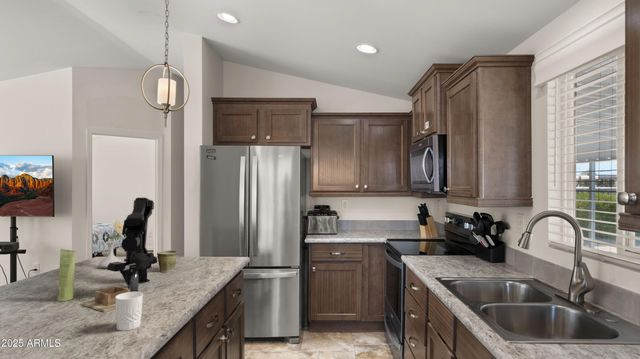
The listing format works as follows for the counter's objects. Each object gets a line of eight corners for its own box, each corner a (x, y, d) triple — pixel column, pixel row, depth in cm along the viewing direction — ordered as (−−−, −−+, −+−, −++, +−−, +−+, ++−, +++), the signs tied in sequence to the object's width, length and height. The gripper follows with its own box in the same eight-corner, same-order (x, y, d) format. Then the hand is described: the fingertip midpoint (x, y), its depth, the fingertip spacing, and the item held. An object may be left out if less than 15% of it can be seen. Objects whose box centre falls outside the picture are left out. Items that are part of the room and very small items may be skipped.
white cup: (121, 321, 113) (122, 291, 113) (146, 321, 114) (147, 291, 114) (109, 332, 105) (110, 299, 105) (135, 331, 106) (136, 299, 106)
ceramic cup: (172, 273, 175) (172, 254, 175) (152, 273, 175) (153, 253, 175) (182, 267, 188) (183, 249, 188) (164, 267, 188) (165, 249, 188)
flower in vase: (104, 270, 178) (105, 222, 179) (94, 267, 184) (95, 221, 185) (129, 266, 189) (130, 221, 190) (119, 263, 195) (120, 219, 196)
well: (82, 305, 128) (83, 292, 128) (119, 294, 140) (120, 283, 140) (104, 312, 121) (104, 298, 121) (141, 300, 133) (141, 288, 134)
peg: (125, 292, 143) (125, 271, 143) (134, 290, 147) (134, 269, 147) (131, 294, 141) (131, 272, 141) (140, 291, 145) (140, 270, 145)
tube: (76, 296, 137) (77, 248, 138) (73, 300, 133) (75, 250, 133) (59, 298, 135) (60, 248, 135) (55, 302, 130) (57, 251, 130)
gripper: (123, 252, 132) (122, 292, 132) (165, 245, 149) (164, 281, 148) (107, 249, 138) (106, 288, 137) (149, 242, 154) (148, 277, 154)
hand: (133, 283), depth 144 cm, fingers closed on peg, 4 cm apart
